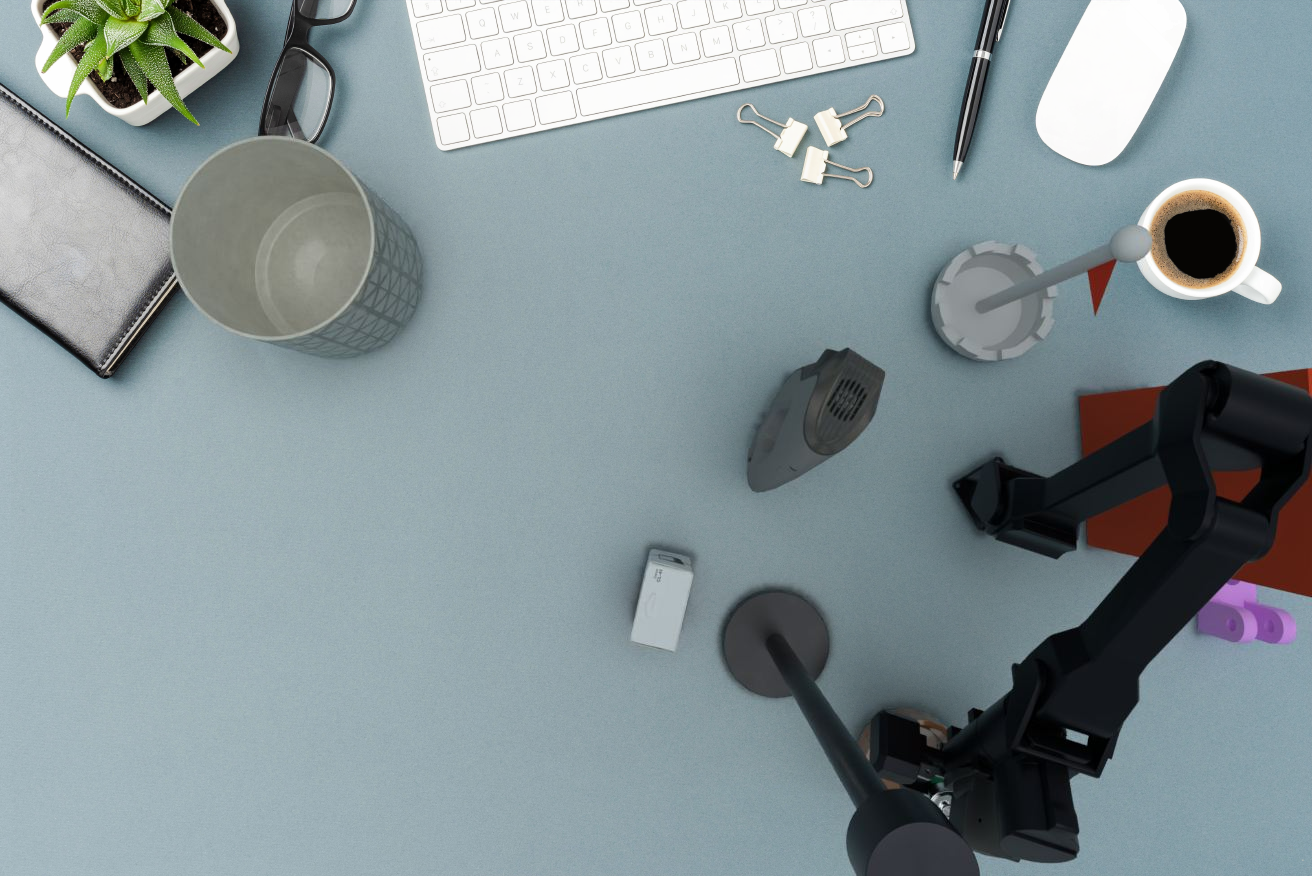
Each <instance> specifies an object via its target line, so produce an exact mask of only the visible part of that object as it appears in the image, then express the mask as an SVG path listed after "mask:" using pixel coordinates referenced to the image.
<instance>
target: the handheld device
mask: <svg viewBox="0 0 1312 876" xmlns="http://www.w3.org/2000/svg"><path fill="white" fill-rule="evenodd" d="M885 377H886V371H885V370H884V369H883V368H881V367H879V366H877V365H876V364H874V363H873V362H872V361H870V360H868V359H867V358H865V357H864V356H862V355H861V354H859V353H857V352H856V351H855V350H853V349H852V348H850V347H848V346H847V347H845V348H843V349H841V350H836V349H832V348H826V349H825V350H824V351H823V352H822V353H821V355H820V356H819V358H818V359H817V360H816V361H815V362H812V363H810V364H806V365H803V366H801V367H799V368H797V369H796V370H794V371H793V372H792V373H791V374H790V376H789V377H788V378H787V379H786V380H785V382H784V383H783V385H782V386H781V388H780V389H779V391H778V392H777V394H776V396H775V397H774V399H773V401H772V402H771V404H770V406H769V407H768V409H767V411H766V413H765V415H764V417H763V419H762V421H761V423H760V425H759V426H758V429H757V430H756V433H755V435H754V437H753V439H752V442H751V443H750V447H749V450H748V456H747V467H746V477H747V485H748V487H749V488H750V490H751V491H752V492H753V493H765V492H768V491H771V490H775V489H777V488H780V487H781V486H784V485H786V484H788V483H790V482H792V481H795V480H796V479H798V478H800V477H801V476H803V475H805V474H806V473H808V472H809V471H811V470H813V469H815V468H816V467H818V466H819V465H821V464H823V463H824V462H826V461H828V460H829V459H830V458H833V457H834V456H836V455H837V454H839V453H840V452H842V451H843V450H845V449H846V448H848V447H849V446H850V445H851V444H852V443H854V442H855V441H856V440H857V439H858V438H859V437H860V436H861V434H863V432H864V431H865V430H866V429H867V427H869V425H870V423H871V422H872V420H873V419H874V417H875V415H876V412H877V408H878V405H879V400H880V397H881V394H882V389H883V386H884V383H885V382H884V381H885Z"/></svg>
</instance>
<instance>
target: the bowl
mask: <svg viewBox="0 0 1312 876" xmlns="http://www.w3.org/2000/svg"><path fill="white" fill-rule="evenodd" d="M891 711H894V712H897V713H900V714H903V715H906V716H909V717H912V718H915V719H916V720H917V721H918V722H919V723H920V734H923V735H926V736H927V745H928V746H931V747H934V748H937V743H939V742H943V743H947V728H948V727H946V726H945V725H944V724H943V723H942V722H940V720H938V719H937V718H936V717H935V716H934V715H932V714H930V713H927V712H925V711H923V710H920V709H917V708H906V707H901V708H896V709H891ZM856 743H857V744H858V746H859V747H860V749H861V750H862V751H863V753H864V754H865V756H866V757H867V759H868V760H869V756H870V723H868V725H867V726H866V727H865V728H864V729H863V731H862V732H861V733H860V736H859V739H858V741H857V742H856ZM881 779H882V781H883V782H884V783H885V785H886V786H887V788H888V789H897V788H899V789H900V786H899V784H898V783H895V782H892V781H889V780H886V779H883V778H881Z"/></svg>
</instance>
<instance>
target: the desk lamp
mask: <svg viewBox="0 0 1312 876" xmlns="http://www.w3.org/2000/svg"><path fill="white" fill-rule="evenodd" d="M826 625H827V624H826V623H825V621H824V619H823V617H822V616H821V614H820V613H819V612H818V610H817V609H816V607H814V606H813V605H812V604H811V603H810V602H809V601H808V600H807V599H805V598H804V597H802V596H800V595H799V594H797V593H794V592H791V591H788V590H785V589H784V590H783V589H766V590H761V591H758V592H755V593H753V594H751V595H748V596H747V597H745V598H744V599H742V600H741V601H740V602H739V603H738V604H737V605H736V606H735V607H734V608H733V610H732V611H731V612H730V614H729V616H728V617H727V619H726V622H725V625H724V627H723V632H722V651H723V655H724V659H725V662H726V665H727V667H728V670H729V671H730V672H731V674H732V676H733V677H734V678H735V680H737V682H738V683H739V684H740V685H741V686H742V687H744V688H745V689H746V690H748V691H750V692H751V693H754V694H755V695H758V696H762V697H765V698H770V699H771V698H773V699H779V698H787V697H788V698H789V697H791V696H792V697H793V698H794V700H795V703H796V704H797V705H798V707H799V709H800V711H801V712H802V715H803V716H804V718H805V720H806V722H807V724H808V725H809V727H810V730H812V733H813V734H814V737H815V738H816V740H817V742H818V743H819V745H820V747H821V749H822V750H823V752H824V754H825V756H826V757H827V759H828V761H829V763H830V764H831V766H832V768H833V770H834V772H835V774H836V775H837V777H838V779H839V781H840V783H841V784H842V786H843V788H844V789H845V791H846V793H847V795H848V796H849V799H850V800H851V802H852V804H853V806H854V807H855V811H854V813H853V814H852V816H851V819H850V821H849V823H848V825H847V829H846V835H845V837H846V838H845V847H846V853H847V857H848V860H849V863H850V866H851V867H852V870H853V871H854V873H855V875H856V876H981V870H980V866H979V862H978V860H977V857H976V855H975V853H974V851H972V849H971V848H970V846H969V845H968V843H967V842H966V841H965V839H964V838H963V837H962V836H961V834H960V833H959V832H958V831H957V829H956V828H955V827H954V826H953V824H952V823H951V822H950V821H949V819H948V818H947V817H946V815H945V814H944V813H943V812H942V810H941V809H940V808H939V807H938V806H937V805H936V804H935V803H934V802H933V801H932V800H931V799H929V798H928V797H926V796H925V795H923V794H921V793H919V792H916V791H913V790H909V789H899V788H897V789H888V788H887V786H886V785H885V783H884V782H883V781H882V779H881V778H880V776H879V775H878V773H877V772H876V770H875V769H874V767H873V766H872V765H871V763H870V762H869V760H868V759H867V757H866V756H865V754H864V753H863V751H862V750H861V749H860V747H859V746H858V744H857V743H858V742H856V740H855V738H854V737H853V735H852V734H851V732H850V731H849V730H848V728H847V727H846V725H845V724H844V722H843V720H841V717H840V716H839V715H838V713H837V711H836V710H835V709H834V708H833V706H832V705H831V703H830V702H829V700H828V699H827V697H826V696H825V694H824V693H823V691H822V690H821V689H820V686H818V684H817V683H816V681H817V679H818V678H819V677H820V676H821V674H822V672H823V671H824V668H825V667H826V665H827V661H828V659H829V654H830V653H829V652H830V637H829V631H828V628H827V626H826Z"/></svg>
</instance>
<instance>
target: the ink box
mask: <svg viewBox="0 0 1312 876" xmlns="http://www.w3.org/2000/svg"><path fill="white" fill-rule="evenodd" d="M693 571H694V570H693V567H692V562H691V558H690V556H687V555H684V554H680V553H675V552H672V551H671V552H670V551H667V550H661V549H657V548H651V549H650V550H649V554H648V558H647V561H646V566H645V569H644V573H643V577H642V583H641V585H640V591H639V596H638V600H637V605H636V608H635V612H634V613H635V614H634V619H633V624H632V628H631V633H630V638H629V641H630V642H629V643H630V644H633V645H638V646H641V647H646V648H650V649H654V650H659V651H663V652H668V653H676V651H677V647H678V643H679V640H680V635H681V631H682V627H683V622H684V617H685V614H686V611H687V610H686V609H687V605H688V601H689V596H690V594H691V593H690V592H691V589H692V588H691V587H692V585H693V584H692V583H693V579H694V572H693Z"/></svg>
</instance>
